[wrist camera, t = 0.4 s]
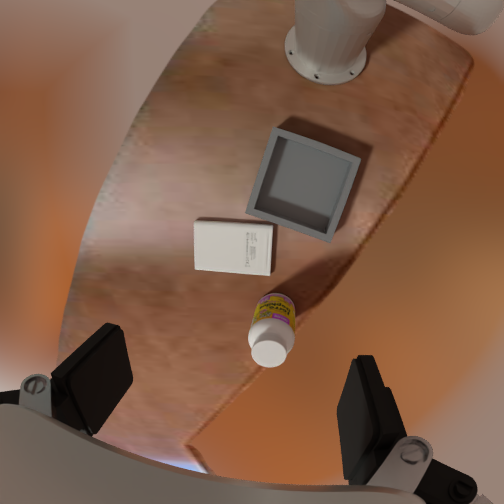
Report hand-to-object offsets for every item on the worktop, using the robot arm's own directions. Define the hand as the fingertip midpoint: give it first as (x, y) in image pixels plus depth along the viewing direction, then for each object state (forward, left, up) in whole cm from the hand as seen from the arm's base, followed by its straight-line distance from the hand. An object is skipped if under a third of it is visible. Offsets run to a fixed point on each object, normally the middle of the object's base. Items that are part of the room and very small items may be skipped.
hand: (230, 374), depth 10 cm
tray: (-6, +2, -35) cm, 35 cm away
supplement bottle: (+15, +5, -35) cm, 38 cm away
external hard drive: (+7, -5, -36) cm, 37 cm away
